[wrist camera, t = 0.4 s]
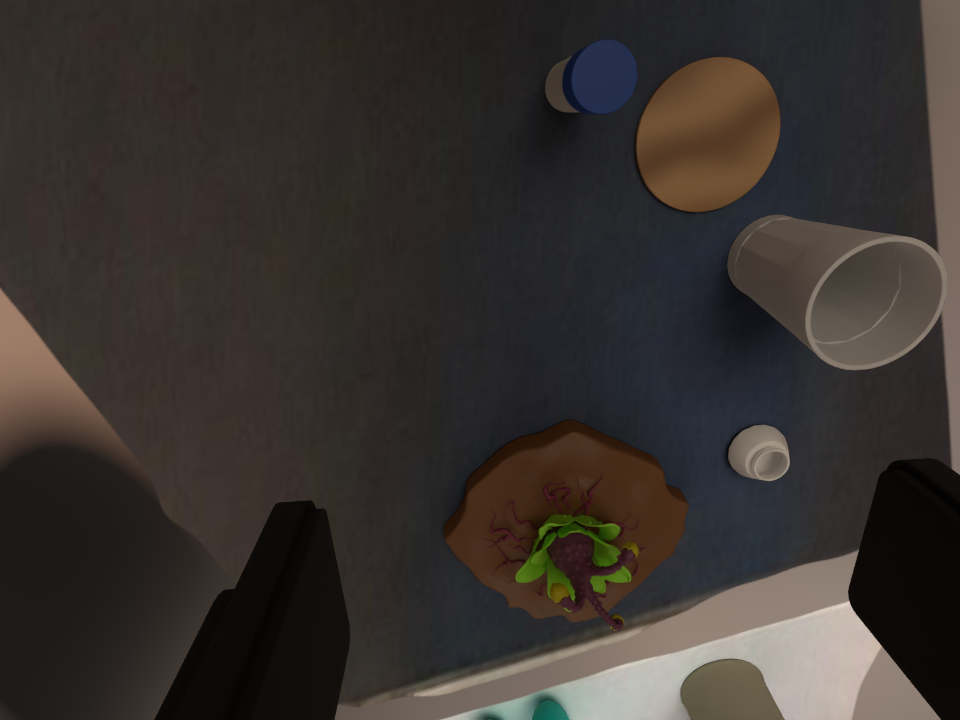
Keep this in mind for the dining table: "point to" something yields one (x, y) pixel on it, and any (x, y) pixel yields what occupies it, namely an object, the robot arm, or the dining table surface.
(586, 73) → the marker
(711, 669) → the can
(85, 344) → the dining table surface
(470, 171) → the dining table surface
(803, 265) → the cup
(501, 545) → the plant
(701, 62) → the coaster
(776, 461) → the white jar
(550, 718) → the teal oval lobes
